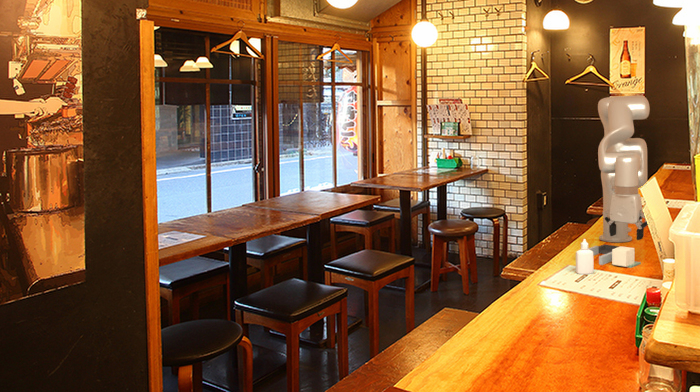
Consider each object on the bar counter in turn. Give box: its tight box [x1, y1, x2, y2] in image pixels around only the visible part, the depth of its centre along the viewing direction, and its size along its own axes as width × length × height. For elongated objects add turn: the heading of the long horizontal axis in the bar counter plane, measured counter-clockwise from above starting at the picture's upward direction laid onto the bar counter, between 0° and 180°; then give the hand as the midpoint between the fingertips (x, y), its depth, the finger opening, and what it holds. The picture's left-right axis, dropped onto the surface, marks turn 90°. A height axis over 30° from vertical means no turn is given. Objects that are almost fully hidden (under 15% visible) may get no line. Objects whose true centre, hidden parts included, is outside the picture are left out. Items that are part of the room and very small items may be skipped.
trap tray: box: [598, 243, 620, 255], centre depth 229 cm, size 5×10×2 cm, turn 38°
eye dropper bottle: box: [575, 238, 595, 275], centre depth 205 cm, size 4×6×12 cm
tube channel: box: [588, 245, 612, 266], centre depth 222 cm, size 14×10×3 cm
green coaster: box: [611, 260, 642, 269], centre depth 213 cm, size 7×7×1 cm
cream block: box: [611, 245, 636, 268], centre depth 212 cm, size 6×5×6 cm
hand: (626, 237), depth 213 cm, fingers open, 9 cm apart
